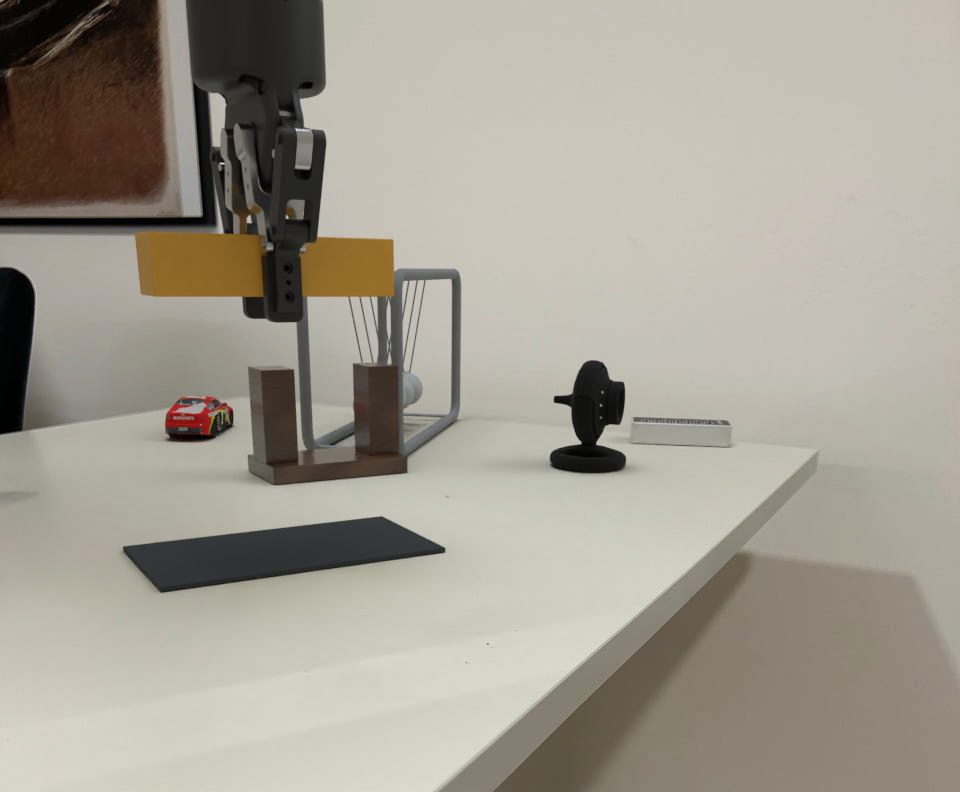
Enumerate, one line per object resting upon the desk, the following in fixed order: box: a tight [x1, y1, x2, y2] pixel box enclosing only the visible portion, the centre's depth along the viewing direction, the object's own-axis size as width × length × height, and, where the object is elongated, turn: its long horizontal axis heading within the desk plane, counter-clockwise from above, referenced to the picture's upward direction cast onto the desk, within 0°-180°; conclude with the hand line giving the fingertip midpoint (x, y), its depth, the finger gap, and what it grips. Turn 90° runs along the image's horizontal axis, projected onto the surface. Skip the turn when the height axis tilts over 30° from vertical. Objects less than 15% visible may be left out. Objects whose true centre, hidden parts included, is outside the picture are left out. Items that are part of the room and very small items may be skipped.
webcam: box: [549, 359, 627, 473], centre depth 95 cm, size 8×8×10 cm
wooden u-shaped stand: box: [247, 361, 408, 486], centre depth 90 cm, size 13×7×10 cm, turn 121°
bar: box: [134, 231, 395, 298], centre depth 60 cm, size 15×3×3 cm, turn 121°
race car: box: [164, 395, 234, 439], centre depth 110 cm, size 13×5×4 cm, turn 178°
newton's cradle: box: [295, 268, 462, 456], centre depth 108 cm, size 30×10×18 cm, turn 170°
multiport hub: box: [629, 416, 733, 448], centre depth 110 cm, size 4×11×2 cm, turn 83°
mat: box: [122, 515, 446, 593], centre depth 66 cm, size 19×10×1 cm, turn 121°
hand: (273, 318), depth 61 cm, fingers closed on bar, 3 cm apart
